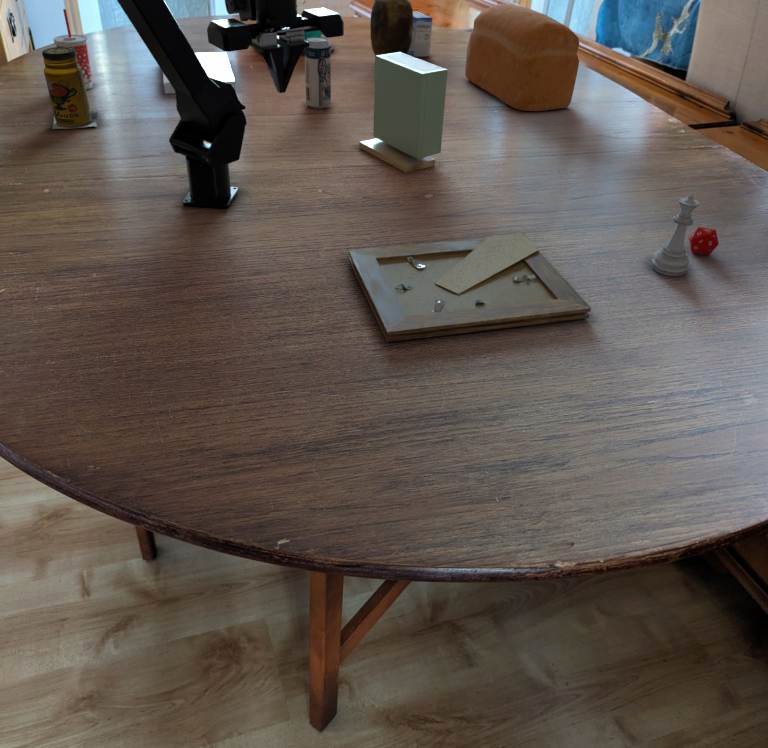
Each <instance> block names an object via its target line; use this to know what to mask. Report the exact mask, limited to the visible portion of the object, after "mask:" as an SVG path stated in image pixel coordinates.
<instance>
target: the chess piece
mask: <svg viewBox="0 0 768 748" xmlns="http://www.w3.org/2000/svg"><path fill="white" fill-rule="evenodd" d="M694 197H695V196H694V194H692V193H691V194H688V195H687V197H681V198H679V199H678V204H679V207H680V211H679V212H678V214H675V215H674V216H673V219H672V221H673V222H674V223H675V224H676V225H675V227H674V230H673V233H672V235H671V237H670V238H669V240H668V241H667V242H665V243H663V244H662V248H660V249H658V250H657V251H655V252H654V254H653V258H652V259H651V262H650V266H651V268H652V269H653V270H654V271H655V272H657V273H658V274H661V275H664V276H669V277H680V276H683V275H685V274H686V273H687V271H688V267H689V266H688V265H689V264H690V259H689V256H688V255H687V254H686V252H687V248H686V247H685V237H686V232H687V228H688V227H690V226H693V224H694V222H695V220H694V218H693V214H692V213H693V212H694V210H695V209H696V208H698V207H699V206H700V202H699V200H697V199H695V198H694Z"/></svg>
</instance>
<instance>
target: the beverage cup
mask: <svg viewBox="0 0 768 748" xmlns="http://www.w3.org/2000/svg"><path fill="white" fill-rule="evenodd" d="M62 11H63V16H64V20H65V26H66V30H67V34H62V35H57V36H55V37H53V43H54V46H55V45H56V46H55V47H69V48H73V49H74V50H75V52H76V57H77V59H78V64H79V66H80V67H81V68H82V72H83V77H84V82H85V86H86V90H90V89H92V88H93V87H94V86H93V78H92V72H91V64H90V56H89V49H88V43H89V39H88V37H87V36H86V35H83V34H72V33H71V27H70V23H69V19H68V13H67V9H66V8H63V10H62Z"/></svg>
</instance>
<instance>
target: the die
mask: <svg viewBox="0 0 768 748" xmlns="http://www.w3.org/2000/svg"><path fill="white" fill-rule="evenodd" d="M688 242H689V247H690V251H691V254H696V255H702V256H710V255H711V254H712V253H713V251H714V250H715V249H717V247H718V246H719V245H720V244H719V238H718V234H717V229H714V228H708V227H703V226H698V227H697V228H696V229H695V231H693V232H692V234H691V235H690V236H689V238H688Z"/></svg>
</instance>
